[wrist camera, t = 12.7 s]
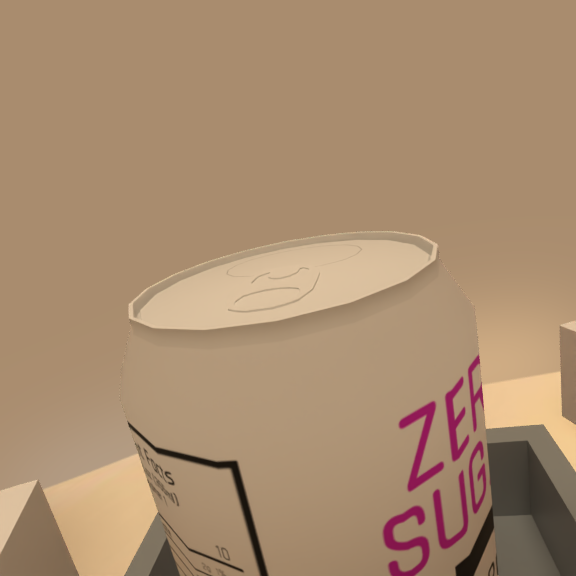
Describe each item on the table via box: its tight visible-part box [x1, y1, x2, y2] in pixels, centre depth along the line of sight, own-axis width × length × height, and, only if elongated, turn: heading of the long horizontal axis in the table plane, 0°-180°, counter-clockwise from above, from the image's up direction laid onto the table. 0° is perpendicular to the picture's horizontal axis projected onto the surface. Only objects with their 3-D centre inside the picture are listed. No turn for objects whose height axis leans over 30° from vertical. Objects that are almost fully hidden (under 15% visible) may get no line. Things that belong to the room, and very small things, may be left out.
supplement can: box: [120, 231, 498, 576], centre depth 12 cm, size 8×8×15 cm
